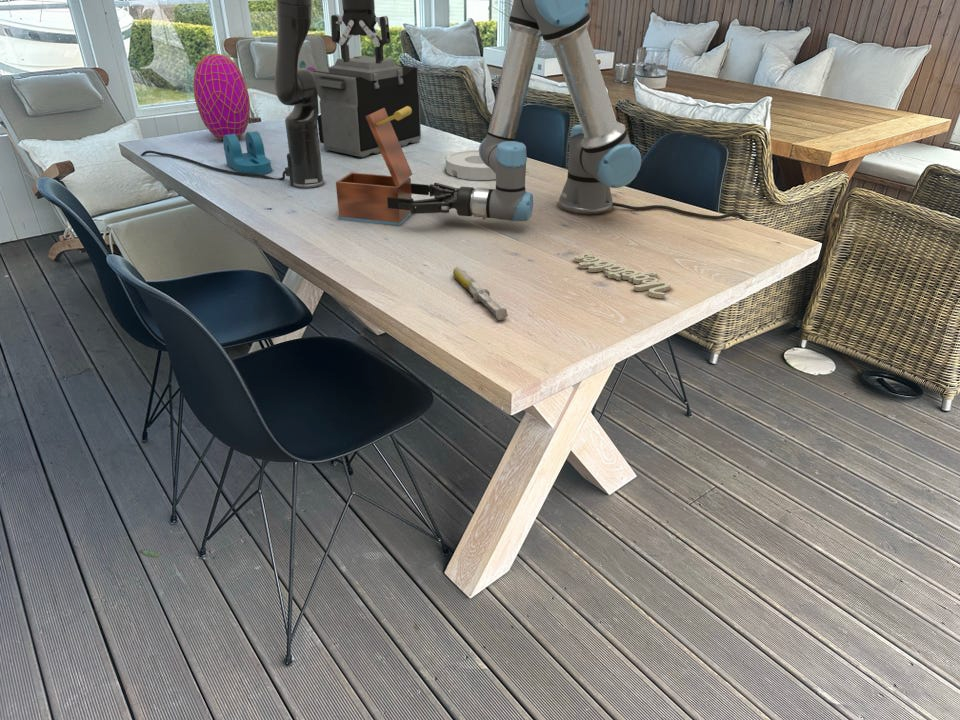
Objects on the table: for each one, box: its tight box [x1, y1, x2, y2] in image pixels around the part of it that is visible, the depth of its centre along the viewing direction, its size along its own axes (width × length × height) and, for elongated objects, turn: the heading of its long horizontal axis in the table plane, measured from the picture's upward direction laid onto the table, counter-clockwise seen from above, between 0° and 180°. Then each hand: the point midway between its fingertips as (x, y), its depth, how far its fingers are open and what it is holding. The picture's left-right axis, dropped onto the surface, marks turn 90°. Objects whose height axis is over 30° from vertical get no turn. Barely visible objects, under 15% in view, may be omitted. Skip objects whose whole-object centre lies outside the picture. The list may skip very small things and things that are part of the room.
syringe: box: [452, 266, 509, 321], centre depth 145 cm, size 25×4×3 cm, turn 21°
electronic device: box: [311, 55, 422, 159], centre depth 250 cm, size 37×22×30 cm, turn 144°
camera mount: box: [222, 131, 272, 175], centre depth 226 cm, size 18×10×10 cm, turn 35°
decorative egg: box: [193, 53, 251, 140], centre depth 257 cm, size 19×19×30 cm
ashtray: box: [445, 149, 496, 181], centre depth 229 cm, size 23×23×4 cm
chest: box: [335, 172, 413, 226], centre depth 186 cm, size 18×10×10 cm, turn 75°
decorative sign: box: [574, 252, 671, 299], centre depth 155 cm, size 26×1×10 cm
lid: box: [366, 106, 413, 186], centre depth 177 cm, size 18×10×9 cm
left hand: (362, 62), depth 169 cm, fingers open, 8 cm apart
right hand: (397, 195), depth 184 cm, fingers open, 13 cm apart
